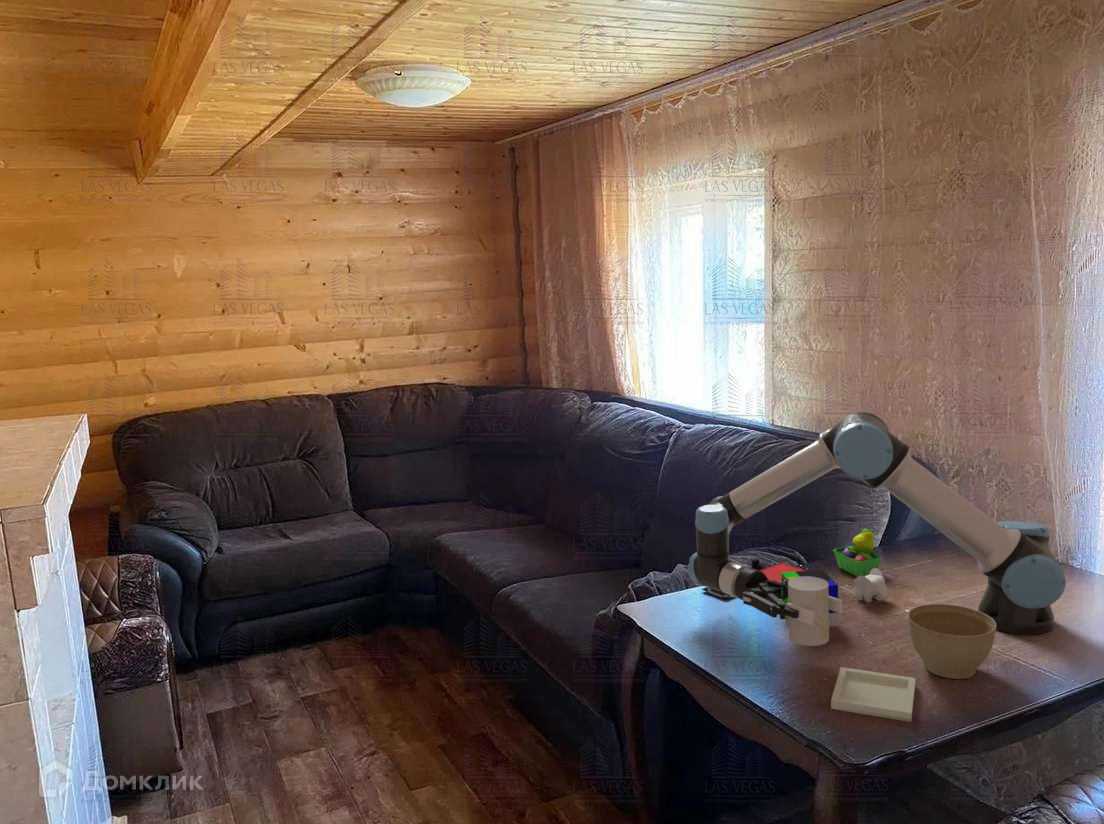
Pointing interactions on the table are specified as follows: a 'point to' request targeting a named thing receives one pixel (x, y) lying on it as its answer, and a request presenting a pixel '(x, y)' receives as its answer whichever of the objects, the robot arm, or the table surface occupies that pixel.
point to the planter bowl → (951, 638)
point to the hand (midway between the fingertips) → (827, 612)
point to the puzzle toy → (821, 574)
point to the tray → (874, 694)
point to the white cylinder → (814, 598)
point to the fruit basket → (858, 555)
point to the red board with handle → (770, 573)
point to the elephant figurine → (871, 586)
